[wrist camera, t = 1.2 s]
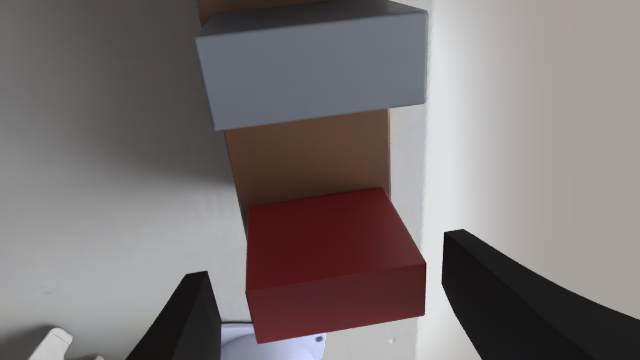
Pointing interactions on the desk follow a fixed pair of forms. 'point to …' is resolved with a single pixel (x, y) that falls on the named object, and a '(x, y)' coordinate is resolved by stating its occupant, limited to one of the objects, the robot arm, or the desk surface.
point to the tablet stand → (54, 346)
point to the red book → (330, 266)
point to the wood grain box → (304, 145)
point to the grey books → (312, 61)
